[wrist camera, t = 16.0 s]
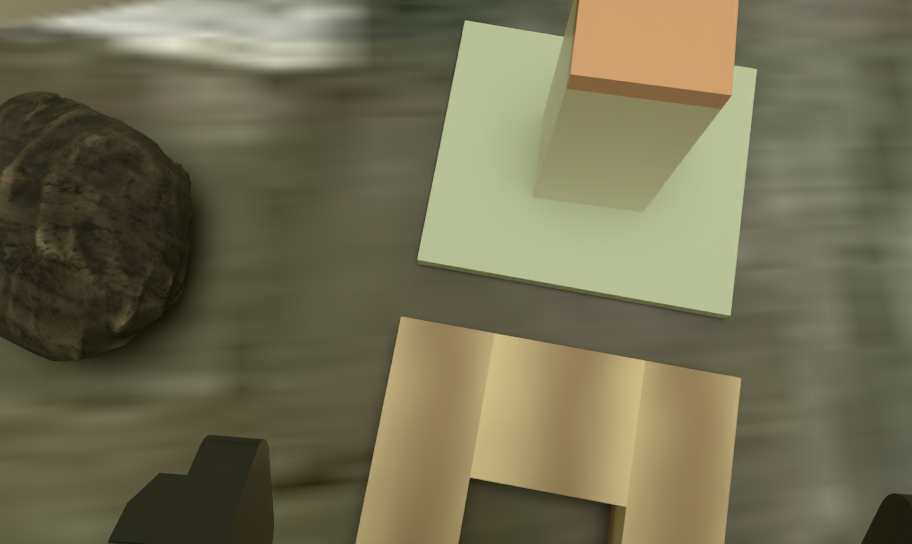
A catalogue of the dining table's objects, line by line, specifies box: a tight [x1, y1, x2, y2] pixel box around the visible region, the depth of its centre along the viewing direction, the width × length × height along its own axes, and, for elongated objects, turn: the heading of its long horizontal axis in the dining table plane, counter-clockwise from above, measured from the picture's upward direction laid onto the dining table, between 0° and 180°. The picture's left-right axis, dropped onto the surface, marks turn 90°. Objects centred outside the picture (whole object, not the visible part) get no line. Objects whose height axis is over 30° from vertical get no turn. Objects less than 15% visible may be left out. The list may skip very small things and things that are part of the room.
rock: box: [0, 92, 193, 361], centre depth 33 cm, size 10×11×10 cm
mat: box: [417, 21, 757, 319], centre depth 38 cm, size 14×12×1 cm
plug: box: [533, 0, 738, 212], centre depth 31 cm, size 5×4×12 cm
